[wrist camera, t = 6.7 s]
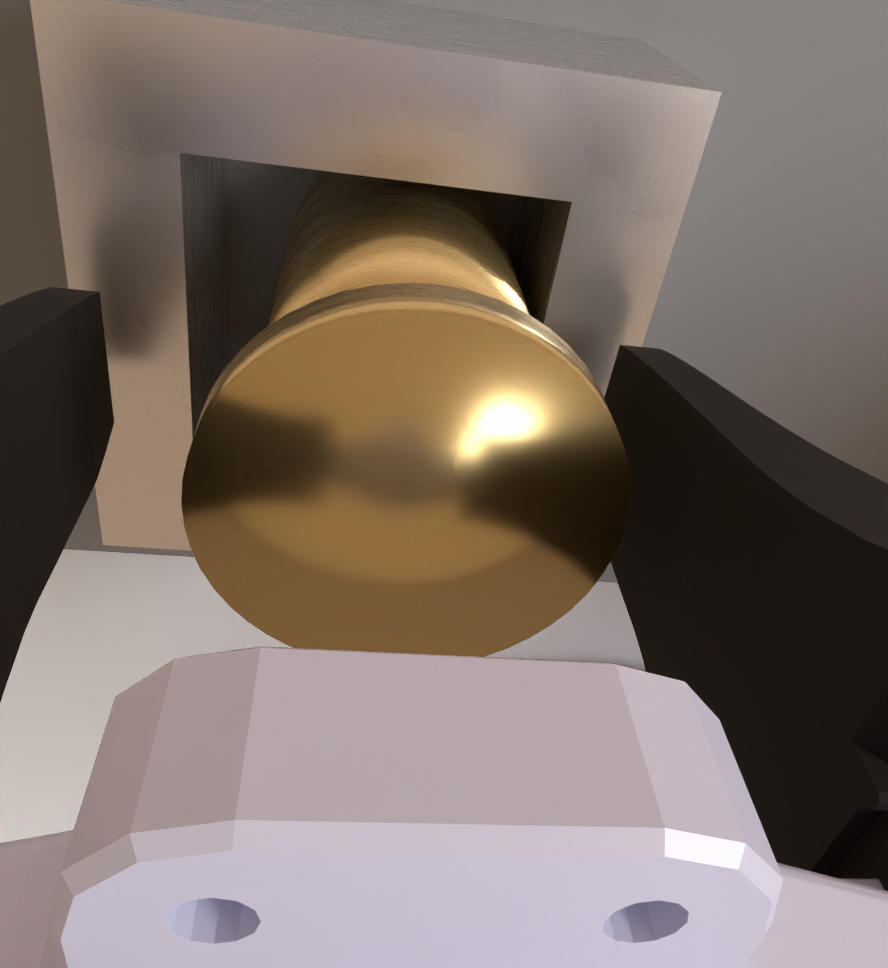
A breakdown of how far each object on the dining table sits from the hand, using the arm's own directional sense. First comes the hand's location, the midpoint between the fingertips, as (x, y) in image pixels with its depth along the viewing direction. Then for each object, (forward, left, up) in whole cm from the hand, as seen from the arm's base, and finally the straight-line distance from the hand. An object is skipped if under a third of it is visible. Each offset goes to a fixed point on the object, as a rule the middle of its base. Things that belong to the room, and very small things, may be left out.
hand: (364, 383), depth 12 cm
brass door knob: (0, 0, -5) cm, 5 cm away
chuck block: (0, 0, -5) cm, 5 cm away
